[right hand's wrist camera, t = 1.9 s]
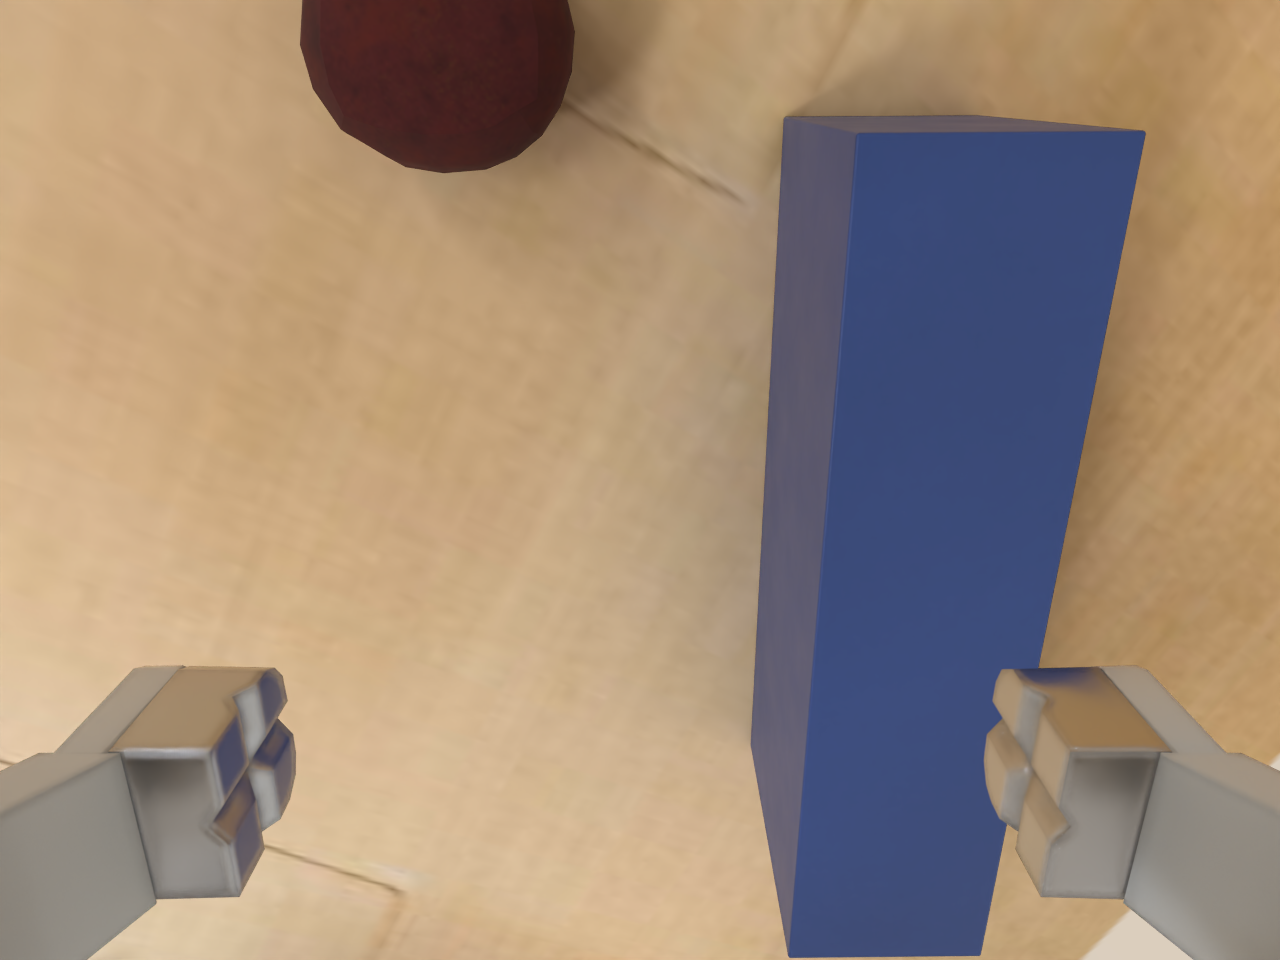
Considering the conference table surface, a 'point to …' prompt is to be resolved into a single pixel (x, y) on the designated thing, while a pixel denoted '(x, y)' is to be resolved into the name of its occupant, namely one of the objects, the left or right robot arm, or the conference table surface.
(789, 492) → the box
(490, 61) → the dark red ball
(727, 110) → the conference table surface
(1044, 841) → the right robot arm
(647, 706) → the conference table surface
